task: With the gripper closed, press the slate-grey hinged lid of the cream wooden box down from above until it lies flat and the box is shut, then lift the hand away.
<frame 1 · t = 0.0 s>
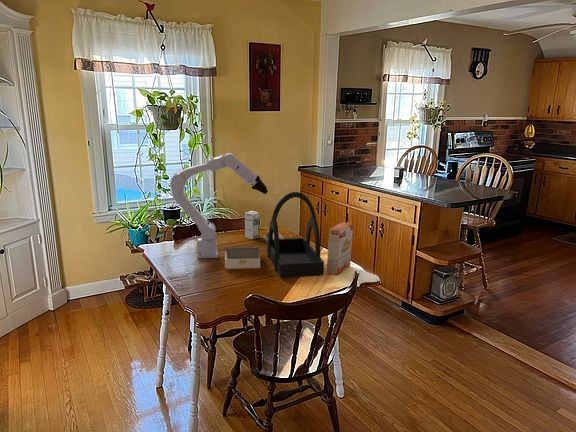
hand: (266, 191, 208), 32 cm above the table, tool tilted 50°, fingers open, 7 cm apart
cracker box: (338, 269, 199), on the table
packaged product: (274, 242, 237), on the table
lid: (242, 248, 203), point 7 cm above the table, hinge at 20.0°
box: (242, 262, 205), on the table
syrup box: (252, 237, 243), on the table
basket: (292, 263, 207), on the table
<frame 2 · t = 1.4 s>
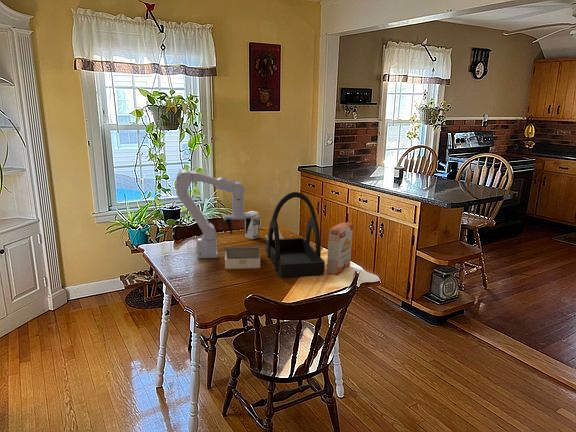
hand: (238, 233, 214), 10 cm above the table, tool pointing down, fingers open, 7 cm apart
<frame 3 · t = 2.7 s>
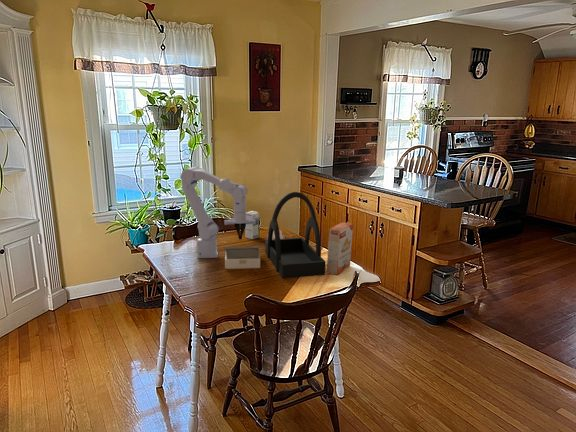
hand: (240, 238, 206), 10 cm above the table, tool pointing down, fingers closed
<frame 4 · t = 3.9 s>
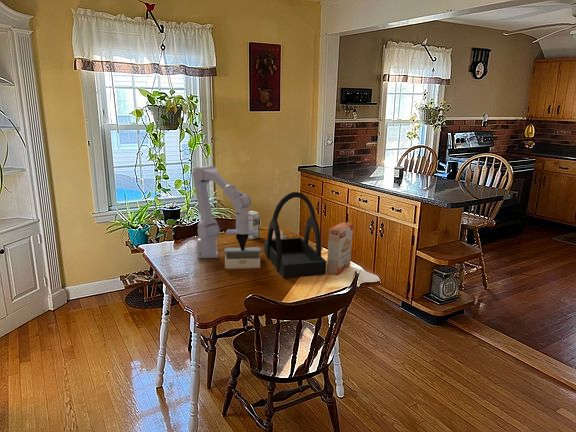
hand: (242, 249, 199), 8 cm above the table, tool pointing down, fingers closed, pressing on lid
lid: (242, 249, 203), point 6 cm above the table, hinge at 13.3°, touching gripper
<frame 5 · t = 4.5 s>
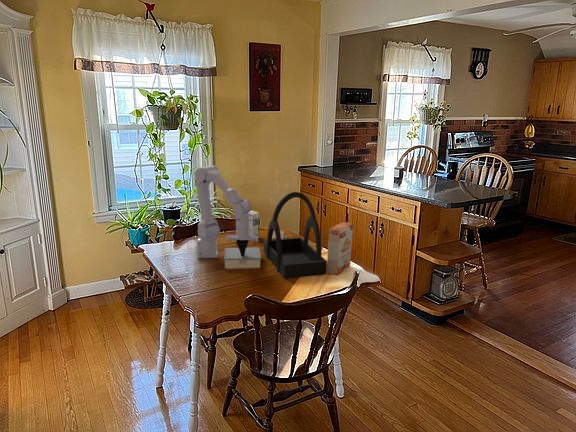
hand: (242, 255, 200), 5 cm above the table, tool pointing down, fingers closed, pressing on lid
lid: (242, 253, 203), point 5 cm above the table, hinge at -0.1°, touching box, gripper
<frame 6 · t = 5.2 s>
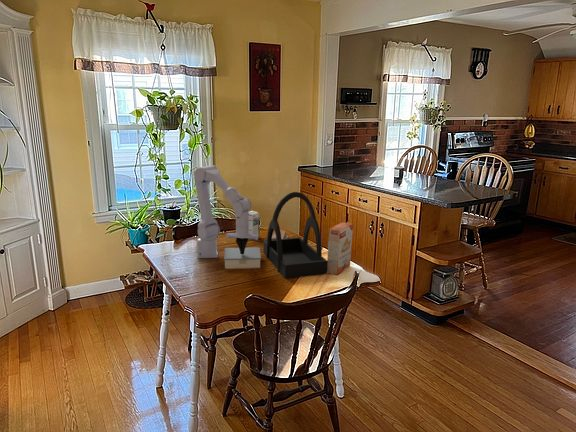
hand: (242, 253, 200), 6 cm above the table, tool pointing down, fingers closed
lid: (242, 253, 203), point 5 cm above the table, hinge at -0.1°, touching box
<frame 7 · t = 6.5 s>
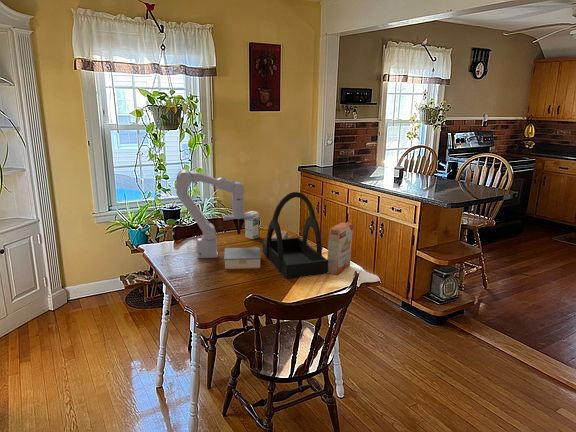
hand: (238, 233, 214), 10 cm above the table, tool pointing down, fingers closed
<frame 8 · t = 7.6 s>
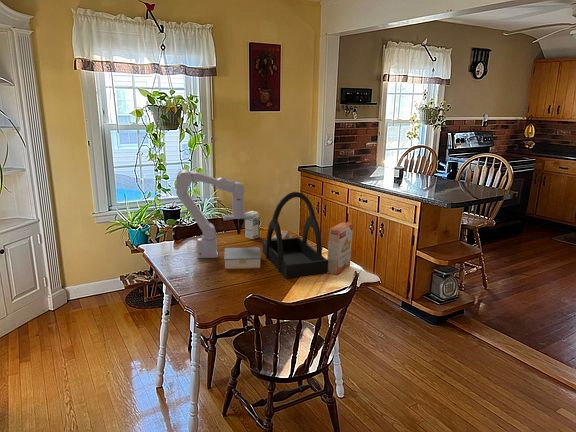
hand: (238, 233, 214), 10 cm above the table, tool pointing down, fingers closed
at the end: lid at +0° (first picture: +20°); the gripper is holding nothing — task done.
